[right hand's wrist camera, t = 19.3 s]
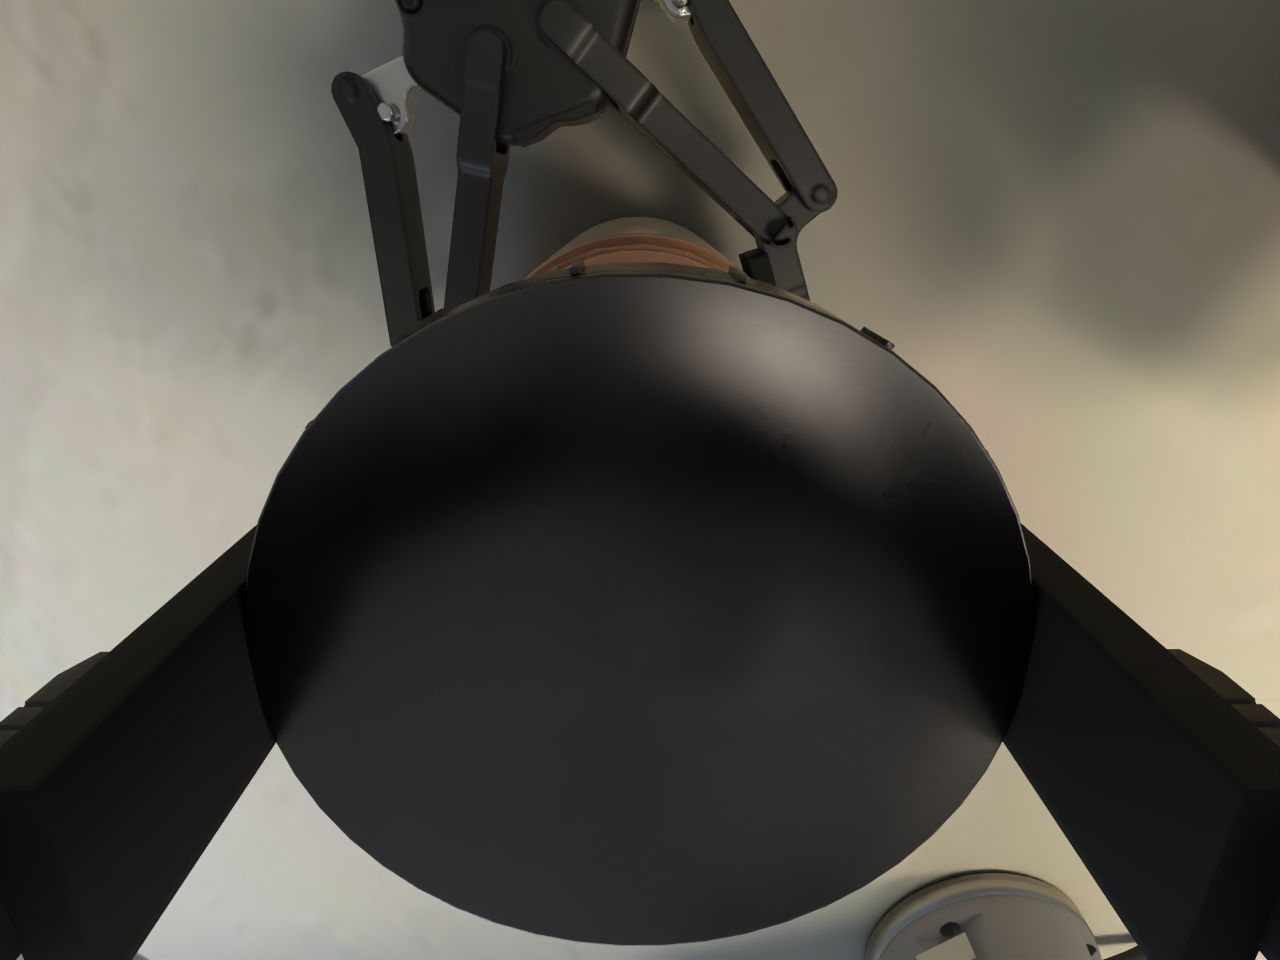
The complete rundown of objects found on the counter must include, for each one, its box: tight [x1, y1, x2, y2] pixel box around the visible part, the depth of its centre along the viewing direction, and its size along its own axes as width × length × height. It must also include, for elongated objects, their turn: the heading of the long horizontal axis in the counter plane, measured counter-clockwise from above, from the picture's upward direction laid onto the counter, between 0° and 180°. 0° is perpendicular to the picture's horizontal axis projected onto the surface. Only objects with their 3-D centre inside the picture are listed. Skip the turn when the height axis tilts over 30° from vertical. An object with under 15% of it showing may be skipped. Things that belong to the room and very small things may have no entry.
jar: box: [523, 217, 750, 280], centre depth 29 cm, size 10×10×15 cm
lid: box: [244, 259, 1034, 946], centre depth 11 cm, size 11×11×2 cm
